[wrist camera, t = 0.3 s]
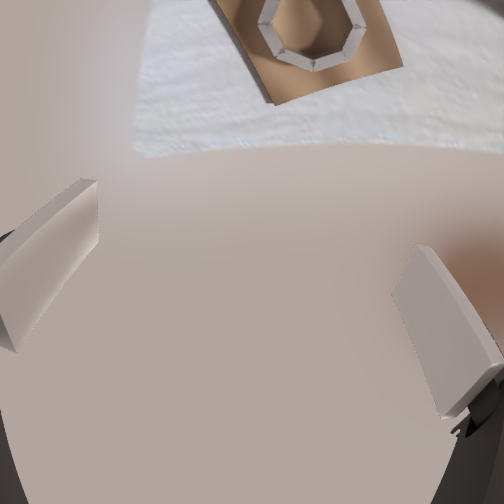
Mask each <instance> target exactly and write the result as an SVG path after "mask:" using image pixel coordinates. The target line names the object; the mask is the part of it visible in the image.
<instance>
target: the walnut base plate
mask: <svg viewBox="0 0 504 504" xmlns="http://www.w3.org/2000/svg"><path fill="white" fill-rule="evenodd" d="M216 1H217V3H218V5H219V6H220V8H221V10H222V11H223V13H224V15H225V16H226V18H227V20H228V21H229V23H230V25H231V26H232V28H233V30H234V31H235V33H236V35H237V37H238V38H239V40H240V42H241V44H242V45H243V47H244V49H245V51H246V52H247V54H248V56H249V58H250V60H251V61H252V63H253V65H254V67H255V69H256V70H257V72H258V74H259V76H260V78H261V80H262V82H263V84H264V85H265V87H266V89H267V91H268V93H269V95H270V97H271V99H272V101H273V103H274V105H275V106H277V105H280V104H283V103H285V102H288V101H291V100H293V99H296V98H299V97H302V96H305V95H308V94H310V93H313V92H316V91H319V90H322V89H325V88H329V87H332V86H335V85H338V84H341V83H344V82H348V81H351V80H354V79H358V78H361V77H365V76H368V75H372V74H376V73H380V72H383V71H387V70H391V69H395V68H399V67H403V63H402V60H401V57H400V54H399V51H398V48H397V45H396V42H395V40H394V37H393V34H392V31H391V29H390V26H389V24H388V21H387V19H386V16H385V14H384V11H383V9H382V6H381V4H380V2H379V0H355V1H356V3H357V6H358V8H359V10H360V12H361V15H362V17H363V19H364V22H365V24H366V27H363V28H365V29H366V31H365V33H364V35H363V37H362V39H361V41H360V43H359V45H358V47H357V49H356V51H355V53H354V55H353V57H352V59H349V58H348V59H349V61H348V62H345V63H342V64H338V65H335V66H332V67H329V68H326V69H323V70H320V71H317V72H314V69H313V71H312V72H311V71H308V70H306V69H303V68H301V67H298V66H295V65H293V64H290V63H287V62H285V61H282V60H279V59H277V56H275V57H274V55H273V53H272V51H271V49H270V48H269V46H268V44H267V42H266V40H265V38H264V36H263V35H262V33H261V31H260V29H259V27H258V26H257V25H259V23H257V22H258V19H259V17H260V14H261V12H262V9H263V7H264V4H265V2H266V0H216ZM273 22H274V24H275V26H276V28H277V30H278V32H279V34H280V35H281V37H282V39H283V41H284V43H285V45H287V46H289V47H292V48H295V49H297V50H300V51H302V52H305V53H308V54H310V55H315V54H318V53H321V52H324V51H327V50H330V49H333V48H336V47H338V46H339V44H340V42H341V40H342V38H343V36H344V34H345V32H346V30H347V27H348V25H349V23H348V20H347V18H346V16H345V14H344V12H343V9H342V7H341V5H340V3H339V1H338V0H282V1H281V3H280V6H279V8H278V11H277V13H276V16H275V18H274V21H273Z"/></svg>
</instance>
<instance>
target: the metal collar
mask: <svg viewBox="0 0 504 504" xmlns="http://www.w3.org/2000/svg"><path fill="white" fill-rule="evenodd" d="M281 1H282V0H266V2H265V4H264V7H263V9H262V12H261V14H260V17H259V19H258V22H257V23H259V25H257V26H258V27H259V29H260V31H261V33H262V35H263V36H264V38H265V40H266V42H267V44H268V46H269V48H270V49H271V51H272V53H273V55H274V57H275V56H277V59H279V60H282V61H285V62H287V63H290V64H293V65H295V66H298V67H301V68H303V69H306V70H308V71H311V72H312V71H313V69H314V72H317V71H320V70H323V69H326V68H329V67H332V66H335V65H338V64H342V63H345V62H348V61H349V59H352V57H353V55H354V53H355V51H356V49H357V47H358V45H359V43H360V41H361V39H362V37H363V35H364V33H365V31H366V29H365V28H363V27H366V24H365V22H364V19H363V17H362V15H361V12H360V10H359V8H358V6H357V3H356V1H355V0H338V1H339V3H340V5H341V7H342V9H343V12H344V14H345V16H346V18H347V20H348V23H349V25H348V27H347V30H346V32H345V34H344V36H343V38H342V40H341V42H340V44H339V46H338V47H336V48H333V49H330V50H327V51H324V52H321V53H318V54H315V55H310V54H308V53H305V52H302V51H300V50H297V49H295V48H292V47H289V46H287V45H285V43H284V41H283V39H282V37H281V35H280V34H279V32H278V30H277V28H276V26H275V24H274V22H273V21H274V18H275V16H276V13H277V11H278V8H279V6H280V3H281ZM348 58H349V59H348Z"/></svg>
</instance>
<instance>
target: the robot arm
mask: <svg viewBox="0 0 504 504" xmlns="http://www.w3.org/2000/svg"><path fill="white" fill-rule="evenodd" d="M97 203H98V201H97V180H90V179H83V178H81V179H80V180H79V181H77V182H76V183H74V184H73V185H71V186H70V187H69V188H67V189H66V190H64V191H63V192H62V193H61V194H59V195H58V196H57V197H55V198H54V199H53V200H51V201H50V202H49V203H47V204H46V205H45V206H44V207H42V208H41V209H40V210H38V211H37V212H36V213H35V214H34V215H32V216H31V217H30V218H29V219H27V220H26V221H25V222H24V223H23V224H22V225H20V226H19V227H18V228H17V229H16V230H13V231H11V232H9V233H7V234H5V235H3V236H2V237H0V346H1V347H3V348H6V349H8V350H10V351H12V352H15V353H17V352H18V351H19V349H20V348H21V346H22V345H23V343H24V341H25V340H26V338H27V337H28V335H29V334H30V332H31V331H32V329H33V328H34V326H35V325H36V323H37V322H38V320H39V319H40V318H41V316H42V315H43V313H44V312H45V310H46V309H47V308H48V306H49V305H50V303H51V302H52V301H53V299H54V298H55V296H56V295H57V294H58V292H59V291H60V290H61V288H62V287H63V286H64V284H65V283H66V282H67V280H68V279H69V278H70V276H71V275H72V274H73V272H74V271H75V270H76V269H77V267H78V266H79V265H80V264H81V262H82V261H83V260H84V258H85V257H86V256H87V255H88V253H89V252H90V251H91V250H92V249H93V247H94V246H95V245H96V244H97V242H98V241H99V232H98V204H97ZM392 297H393V299H394V302H395V304H396V306H397V308H398V311H399V313H400V315H401V317H402V320H403V322H404V324H405V327H406V329H407V331H408V333H409V336H410V338H411V341H412V343H413V345H414V348H415V351H416V353H417V355H418V358H419V361H420V363H421V366H422V368H423V371H424V374H425V376H426V379H427V382H428V384H429V387H430V390H431V393H432V395H433V398H434V401H435V404H436V407H437V410H438V413H439V416H440V418H441V419H444V418H453V417H457V416H458V415H459V414H460V413H461V412H462V411H463V410H464V409H465V408H466V407H467V406H468V409H469V412H470V414H468V416H467V417H465V418H464V419H463V420H462V421H461V422H460V423H459V424H458V425H457V426H456V427H454V428H453V429H452V431H451V434H453V433H454V432H456V431H457V430H458V429H461V430H460V433H458V434H457V435H456V437H458V439H457V442H456V445H455V447H454V450H453V453H452V456H451V458H450V461H449V463H448V466H447V468H446V471H445V473H444V475H443V478H442V480H441V483H440V485H439V487H438V489H437V491H436V493H435V496H434V498H433V500H432V502H431V504H504V356H503V354H502V352H501V350H500V349H499V347H498V345H497V343H496V342H495V341H494V338H493V337H492V335H491V334H490V332H489V330H488V328H487V327H486V325H485V324H484V322H483V321H482V320H481V318H480V317H479V315H478V314H477V312H476V311H475V309H474V307H473V306H472V304H471V303H470V301H469V300H468V298H467V297H466V295H465V294H464V293H463V291H462V290H461V288H460V287H459V285H458V284H457V282H456V281H455V279H454V278H453V277H452V275H451V274H450V272H449V271H448V270H447V268H446V267H445V266H444V264H443V263H442V261H441V260H440V259H439V258H438V256H437V255H436V254H435V252H434V251H433V250H432V248H431V247H430V246H426V245H422V244H418V243H416V245H415V248H414V250H413V252H412V254H411V256H410V258H409V260H408V263H407V265H406V267H405V269H404V271H403V273H402V275H401V277H400V279H399V281H398V283H397V285H396V287H395V289H394V291H393V293H392ZM0 504H28V501H27V498H26V496H25V493H24V490H23V488H22V485H21V482H20V479H19V477H18V474H17V471H16V467H15V464H14V461H13V458H12V454H11V451H10V448H9V444H8V440H7V437H6V432H5V428H4V424H3V420H2V416H1V411H0Z"/></svg>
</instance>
